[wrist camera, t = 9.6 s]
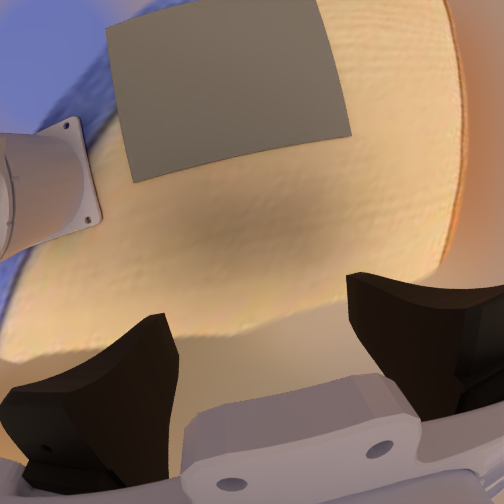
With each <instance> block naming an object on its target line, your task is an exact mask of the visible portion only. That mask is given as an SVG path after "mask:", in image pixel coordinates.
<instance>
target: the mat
mask: <svg viewBox="0 0 504 504" xmlns="http://www.w3.org/2000/svg"><path fill="white" fill-rule="evenodd" d="M106 37H107V46H108V53H109V60H110V67H111V74H112V80H113V87H114V92H115V98H116V104H117V109H118V115H119V120H120V125H121V130H122V135H123V139H124V144H125V149H126V153H127V158H128V162H129V166H130V170H131V175H132V179H133V183H136V182H139V181H143V180H146V179H149V178H153V177H156V176H160V175H163V174H167V173H171V172H174V171H178V170H182V169H186V168H190V167H194V166H198V165H202V164H206V163H210V162H214V161H218V160H223V159H227V158H231V157H236V156H240V155H245V154H250V153H255V152H259V151H264V150H270V149H275V148H280V147H285V146H291V145H297V144H302V143H308V142H315V141H321V140H327V139H334V138H341V137H348V136H352V134H351V129H350V124H349V119H348V115H347V110H346V106H345V101H344V97H343V93H342V88H341V84H340V80H339V76H338V73H337V69H336V65H335V61H334V58H333V54H332V51H331V47H330V44H329V40H328V37H327V34H326V30H325V27H324V24H323V21H322V18H321V15H320V12H319V9H318V6H317V3H316V0H199V1H195V2H190V3H186V4H181V5H177V6H173V7H169V8H166V9H162V10H158V11H155V12H152V13H148V14H145V15H142V16H139V17H136V18H133V19H130V20H127V21H124V22H121V23H118V24H116V25H113V26H110V27H108V28H106Z"/></svg>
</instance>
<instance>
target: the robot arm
mask: <svg viewBox="0 0 504 504" xmlns="http://www.w3.org/2000/svg"><path fill="white" fill-rule="evenodd" d="M67 123H69V128H68V129H66V124H67ZM87 217H90V218H91V223H89V222H88V221H87ZM101 220H102V215H101V211H100V208H99V204H98V200H97V196H96V193H95V189H94V185H93V180H92V176H91V172H90V168H89V163H88V159H87V154H86V149H85V144H84V139H83V134H82V129H81V123H80V119H79V118H78V117H75V116H73V117H70V118H67V119H65V120H63V121H61V122H59V123H56V124H54V125H52V126H50V127H48V128H46V129H44V130H42V131H40V132H38V133H36V134H34V135H29V134H12V133H0V262H2V261H4V260H5V259H7V258H9V257H11V256H13V255H14V254H16V253H18V252H20V251H22V250H23V249H26V248H28V247H31V246H34V245H37V244H40V243H43V242H46V241H49V240H52V239H55V238H58V237H61V236H64V235H67V234H70V233H73V232H76V231H79V230H82V229H85V228H89V227H92V226H95V225H97V224H99V223H100V222H101ZM346 282H347V297H348V313H349V321H350V323H351V325H352V327H353V330H354V332H355V333H356V335H357V337H358V339H359V340H360V342H361V343H362V345H363V346H364V347H365V349H366V350H367V352H368V353H369V354H370V356H371V357H372V358H373V360H374V361H375V362H376V364H377V365H378V367H379V368H380V369H381V371H382V372H383V374H384V375H385V376H383V375H381V374H379V373H372V374H363V375H352V376H348V377H345V378H341V379H338V380H334V381H330V382H327V383H323V384H319V385H315V386H311V387H307V388H303V389H299V390H295V391H290V392H286V393H281V394H276V395H272V396H267V397H262V398H257V399H251V400H245V401H240V402H234V403H228V404H223V405H220V406H218V407H215V408H212V409H209V410H206V411H203V412H200V413H198V414H197V415H196V416H195V418H193V419H192V421H191V422H190V423H189V424H188V425H187V426H186V427H185V429H184V439H183V449H182V450H183V451H182V460H181V472H180V476H178V477H174V478H171V479H169V470H168V442H169V424H170V417H171V412H172V407H173V401H174V396H175V391H176V386H177V381H178V373H179V354H178V351H177V348H176V346H175V343H174V340H173V337H172V334H171V331H170V328H169V325H168V322H167V320H166V317H165V313H160V314H154V315H149V316H148V317H146V318H144V319H143V320H142V321H140V322H139V323H138V324H137V325H135V326H134V327H133V328H132V329H130V330H129V331H128V332H127V333H126V334H124V335H123V336H122V337H121V338H119V339H118V340H117V341H115V342H114V343H113V344H111V345H110V346H109V347H107V348H106V349H105V350H103V351H102V352H101V353H99V354H97V355H96V356H94V357H92V358H91V359H89V360H88V361H86V362H84V363H82V364H80V365H78V366H76V367H74V368H72V369H70V370H68V371H66V372H64V373H61V374H59V375H56V376H53V377H50V378H48V379H45V380H42V381H39V382H35V383H31V384H26V385H22V386H18V387H14V388H12V389H11V390H10V392H9V393H8V394H7V396H6V397H5V398H4V400H3V401H2V403H1V404H0V421H1V424H2V426H3V428H4V429H5V431H6V432H7V434H8V435H9V436H10V438H11V439H12V440H13V441H14V443H15V444H16V445H17V446H18V448H19V449H20V450H21V451H22V452H23V453H24V455H25V456H26V457H27V458H28V459H29V461H28V463H27V466H26V467H25V466H24V465H22V464H21V463H19V462H17V461H12V460H9V459H5V458H1V457H0V504H494V503H493V501H492V499H493V498H494V497H496V496H497V495H498V494H500V493H501V492H502V491H503V490H504V285H500V286H495V287H489V288H477V289H443V288H433V287H426V286H419V285H415V284H410V283H405V282H401V281H397V280H393V279H389V278H385V277H382V276H378V275H374V274H370V273H365V272H358V273H354V274H350V275H346Z"/></svg>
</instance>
